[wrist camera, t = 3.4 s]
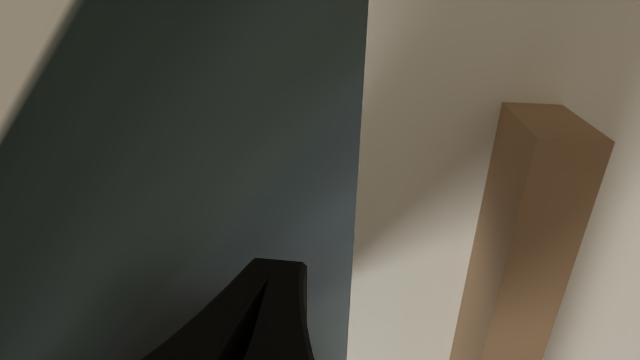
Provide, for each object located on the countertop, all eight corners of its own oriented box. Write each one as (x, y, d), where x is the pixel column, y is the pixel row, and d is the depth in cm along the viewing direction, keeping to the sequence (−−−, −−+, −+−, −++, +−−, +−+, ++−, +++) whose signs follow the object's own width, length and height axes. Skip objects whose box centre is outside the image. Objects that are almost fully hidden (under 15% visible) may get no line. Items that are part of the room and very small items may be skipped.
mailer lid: (703, 495, 14) (772, 606, 12) (341, 447, 15) (334, 540, 13) (1082, -54, 7) (1448, -69, 5) (372, -62, 9) (371, -77, 6)
